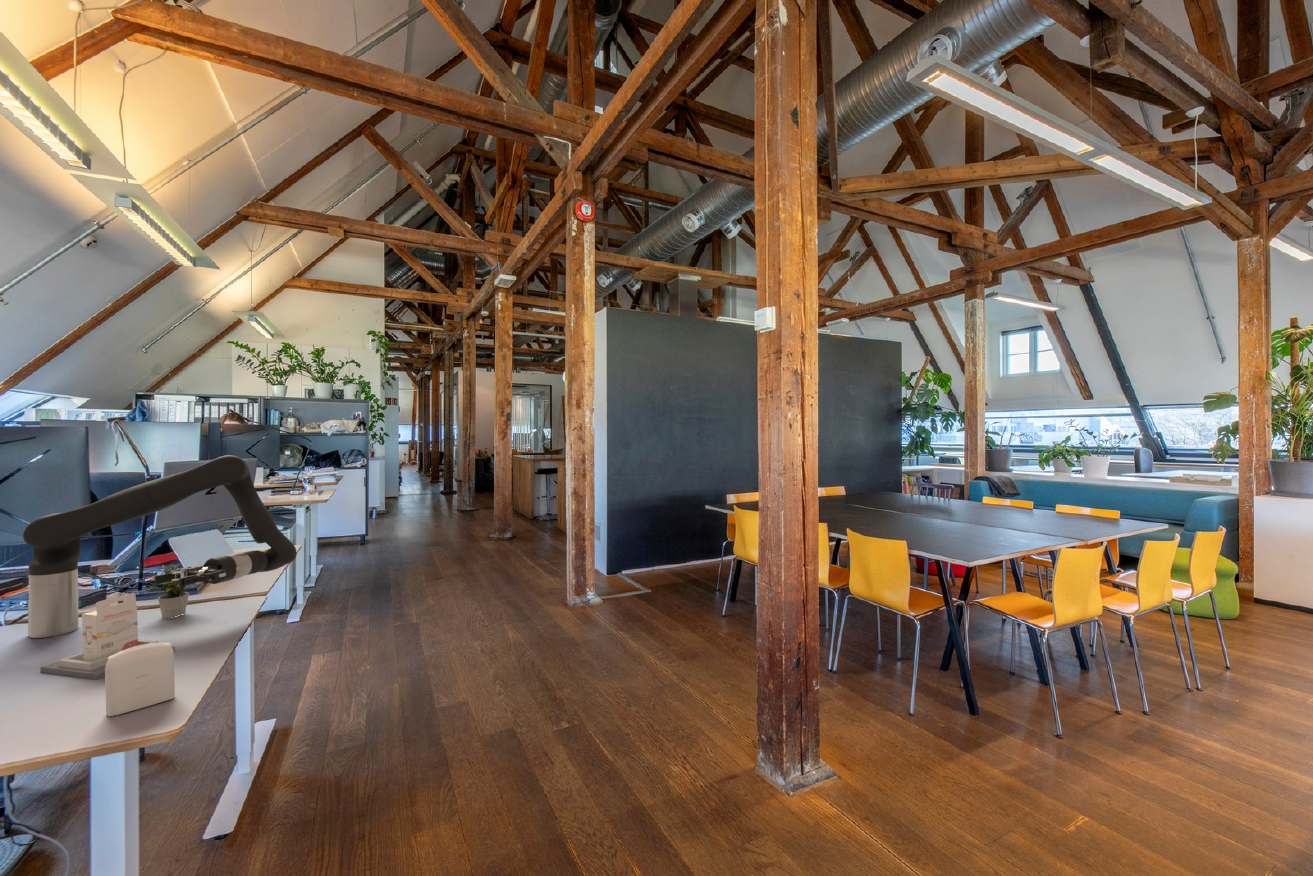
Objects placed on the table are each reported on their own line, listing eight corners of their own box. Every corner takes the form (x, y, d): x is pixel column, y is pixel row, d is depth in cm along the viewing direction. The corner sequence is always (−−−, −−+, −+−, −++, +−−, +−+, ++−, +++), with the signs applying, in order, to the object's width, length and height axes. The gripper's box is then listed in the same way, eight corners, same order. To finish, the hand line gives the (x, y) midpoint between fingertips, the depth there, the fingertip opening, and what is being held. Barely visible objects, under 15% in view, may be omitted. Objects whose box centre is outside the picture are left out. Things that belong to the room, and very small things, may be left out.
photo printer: (106, 720, 105) (106, 656, 105) (104, 712, 108) (103, 650, 107) (176, 700, 113) (176, 641, 113) (172, 693, 115) (172, 636, 115)
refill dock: (40, 671, 126) (40, 660, 126) (121, 645, 142) (121, 635, 142) (97, 679, 122) (97, 667, 122) (174, 651, 138) (174, 641, 138)
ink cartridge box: (123, 648, 137) (123, 590, 137) (138, 650, 136) (138, 592, 136) (81, 662, 128) (80, 601, 128) (97, 664, 127) (96, 602, 127)
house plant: (127, 620, 162) (126, 565, 161) (182, 606, 174) (181, 556, 174) (154, 626, 156) (154, 570, 156) (209, 611, 169) (208, 559, 169)
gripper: (209, 553, 162) (147, 565, 146) (247, 556, 158) (188, 569, 143) (209, 578, 162) (147, 593, 146) (247, 582, 158) (187, 597, 143)
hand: (167, 581), depth 144 cm, fingers open, 8 cm apart
